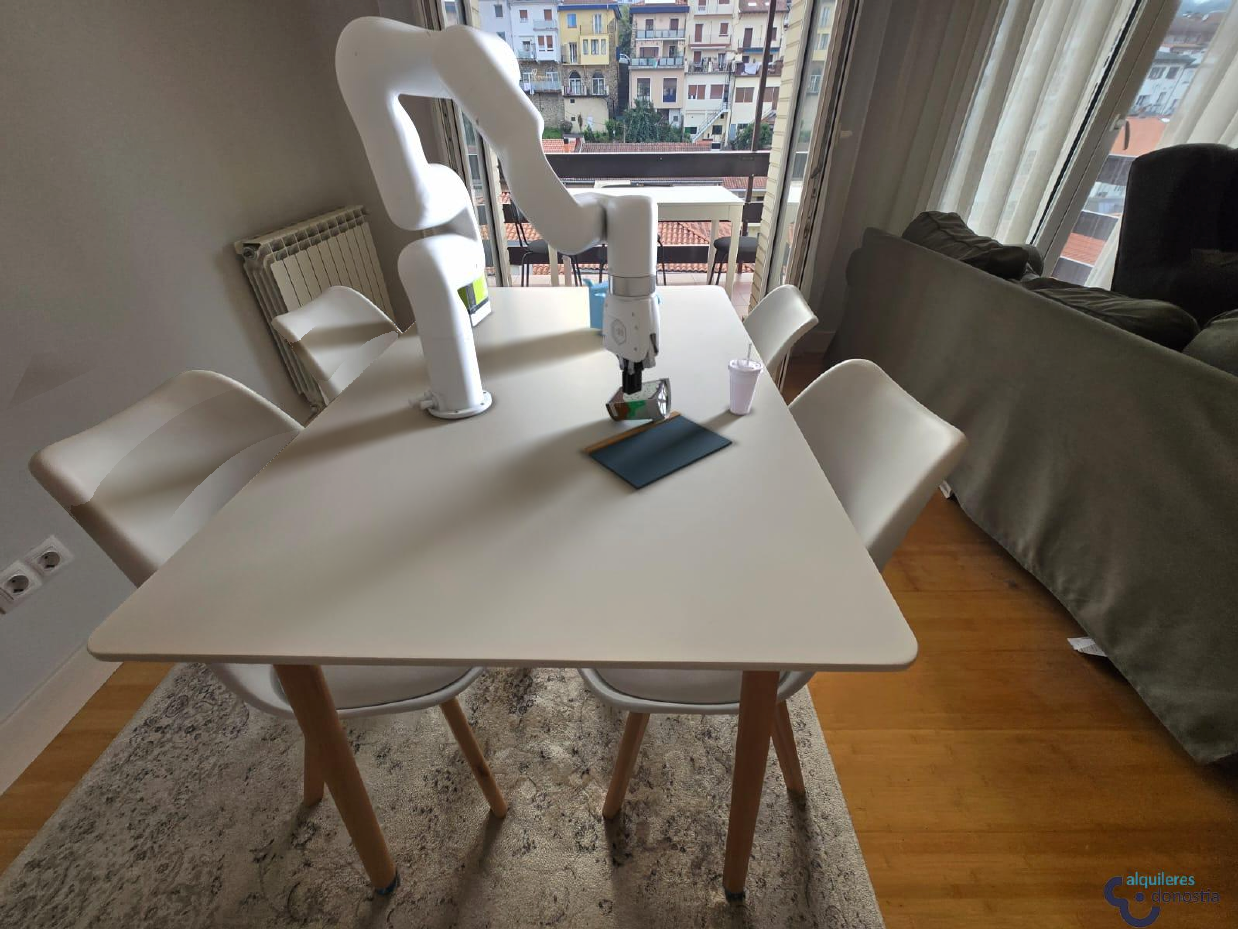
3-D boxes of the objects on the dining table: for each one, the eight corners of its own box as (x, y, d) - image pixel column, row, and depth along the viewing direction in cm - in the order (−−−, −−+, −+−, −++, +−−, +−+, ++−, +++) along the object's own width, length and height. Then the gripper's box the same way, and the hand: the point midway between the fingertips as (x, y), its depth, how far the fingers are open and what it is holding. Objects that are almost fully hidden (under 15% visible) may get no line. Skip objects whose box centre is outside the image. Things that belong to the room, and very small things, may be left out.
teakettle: (664, 340, 135) (666, 283, 127) (595, 346, 132) (593, 288, 124) (645, 319, 151) (646, 267, 143) (583, 324, 148) (580, 271, 140)
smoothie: (736, 420, 97) (746, 350, 89) (716, 407, 102) (723, 339, 94) (762, 413, 99) (774, 344, 92) (741, 400, 104) (750, 334, 97)
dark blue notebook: (637, 489, 78) (637, 485, 78) (584, 452, 88) (583, 448, 88) (732, 443, 90) (732, 439, 89) (675, 414, 99) (675, 410, 99)
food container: (611, 438, 93) (663, 431, 90) (602, 407, 91) (656, 399, 87) (628, 412, 104) (675, 406, 100) (621, 384, 101) (669, 376, 98)
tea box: (461, 311, 160) (452, 262, 152) (491, 312, 159) (484, 262, 150) (440, 326, 147) (429, 273, 139) (473, 327, 146) (464, 274, 138)
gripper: (584, 279, 82) (590, 384, 92) (645, 298, 73) (643, 412, 83) (620, 272, 86) (621, 373, 96) (682, 289, 77) (676, 399, 87)
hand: (632, 391), depth 89 cm, fingers closed
